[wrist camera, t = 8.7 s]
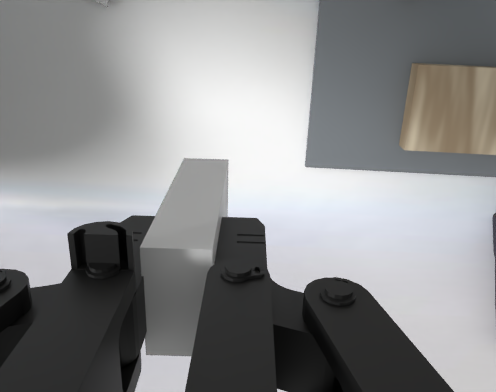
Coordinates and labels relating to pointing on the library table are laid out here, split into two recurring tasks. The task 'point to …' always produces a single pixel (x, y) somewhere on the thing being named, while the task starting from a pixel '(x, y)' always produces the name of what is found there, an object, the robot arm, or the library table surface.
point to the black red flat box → (495, 243)
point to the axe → (103, 2)
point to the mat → (389, 79)
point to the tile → (450, 109)
